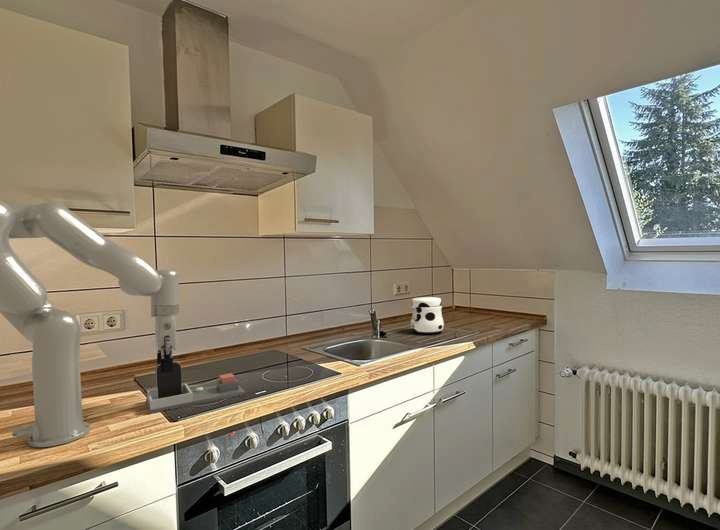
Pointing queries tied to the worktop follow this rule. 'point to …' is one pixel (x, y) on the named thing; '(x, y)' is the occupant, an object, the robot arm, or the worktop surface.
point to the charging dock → (192, 396)
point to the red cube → (226, 378)
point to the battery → (169, 381)
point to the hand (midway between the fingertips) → (164, 368)
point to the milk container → (427, 315)
